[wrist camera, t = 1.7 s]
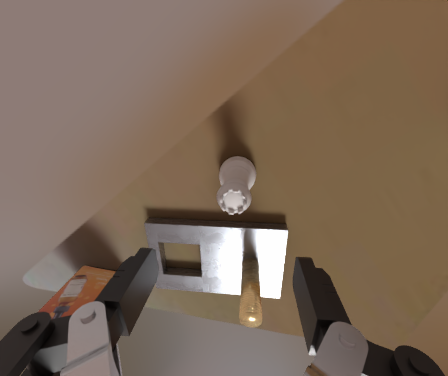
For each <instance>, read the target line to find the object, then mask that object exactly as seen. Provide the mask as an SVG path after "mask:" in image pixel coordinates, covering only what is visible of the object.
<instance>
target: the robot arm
mask: <svg viewBox="0 0 448 376" xmlns="http://www.w3.org/2000/svg"><path fill="white" fill-rule="evenodd" d="M158 274H159V267H158V261H157V255H156V250H155V249H154V248H140V249H139V251H138V252H137V254H136V255H135V256H131V257H129V258H128V259H127V260H125V261H124V262H123V263H122V264H121V265H120V267H119V268H118V269H117V271H116V272H115V274H114V275H113V277H112V278H111V279H110V280H109V282H108V283H107V284H106V286H105V287H104V288H103V290H102V291H101V292H100V294H99V295H98V296H97V298H96V299H95V300H94V301H93V302H89V303H87V304H85V305H83V306H81V307H80V308H78V309H77V310H76V311H75V312H74V313H73V315H69V316H64V317H60V318H55V319H52V318H51V316H50V314H49V313H48V312H37V313H34V314H31V315H29V316H27V317H26V318H24V319H22V320H21V321H20V322H18V323H17V324H16V325H15V326H14V327H13V328H12V329H11V330H10V332H9V333H8V334H7V335H6V336H5V337H4V338H3V339H2V340H1V341H0V376H19V375H20V374H21V373H22V371H23V370H24V369H25V368H26V367H27V368H26V370H25V371H24V372H23V374H22V375H21V376H122V371H121V364H120V357H119V351H118V345H117V342H118V340H119V338H120V336H121V335H122V336H130V333H131V332H132V329H133V327H134V325H135V323H136V321H137V319H138V317H139V315H140V313H141V311H142V309H143V307H144V305H145V303H146V301H147V299H148V297H149V295H150V293H151V291H152V289H153V287H154V285H155V283H156V281H157V278H158ZM293 290H294V294H295V298H296V303H297V307H298V311H299V315H300V320H301V324H302V328H303V332H304V337H305V341H306V345H307V349H308V354H309V355H314V356H315V357H314V360H313V361H312V363H311V365H310V366H308V367H307V369H306V371H305V372H304V375H303V376H445V375H444V374H443V372H442V371H441V369H440V368H439V366H438V365H437V364H436V363H435V362H434V361H433V360H432V359H431V358H430V357H429V356H427V355H426V354H425V353H423V352H421V351H420V350H418V349H416V348H413V347H411V346H405V345H403V346H399V347H397V348H396V349H395V351H392V350H389V349H387V348H384V347H382V346H379V345H376V344H374V343H372V342H370V341H368V340H366V339H365V337H364V336H363V335H362V333H361V332H360V331H359V330H358V329H356V328H355V327H354V326H352V324H351V323H350V320H349V318H348V316H347V314H346V311H345V309H344V307H343V305H342V303H341V300H340V298H339V296H338V294H337V292H336V289H335V287H334V286H333V283H332V281H331V278H330V276H329V275H328V274H327V273H326V272H325V271H324V270H323V269H322V268H315V265H314V263H313V260H312V258H308V257H296V260H295V267H294V274H293Z"/></svg>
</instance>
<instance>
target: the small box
mask: <svg viewBox="0 0 448 376" xmlns="http://www.w3.org/2000/svg"><path fill="white" fill-rule="evenodd" d="M115 272H116V271H111V270H105V269H100V268H94V267H90V266H85V265H84V266H82V267H81V268H80V269H79V270H78V271H77V272H76V274H75V275H74V276H73V277H72V278H71V279H70V280H69V281H68V282H67V283H66V284H65V285H64V286H63V287H62V288H61V289H60V290H59V291H58V292H57V293H56V294H55V295H54V296H53V297H52V298H51V299H50V300H49V301H48V302H47V303H46V304H45V305H44V306H43V307H42V308H41V309H40V310H39V312H48V313H49V314H50V316H51V318H52V319H55V318H60V317H64V316H69V315H73V313H74V312H75V311H76V310H77V309H78V308H80V307H81V306H83V305H85V304H87V303H89V302H93V301H94V300H95V299H96V298H97V296H98V295H99V294H100V292H101V291H102V290H103V288H104V287H105V286H106V284H107V283H108V282H109V280H110V279H111V278H112V277H113V275H114V274H115Z"/></svg>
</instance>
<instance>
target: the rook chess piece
mask: <svg viewBox="0 0 448 376" xmlns="http://www.w3.org/2000/svg"><path fill="white" fill-rule="evenodd" d="M255 178H256V170H255V167H254V165H253V164H252V162H251V161H249V160H248V159H246V158H245V157H239V156H235V157H231V158H229V159H227V160H226V161H224V163H223V164H222V166H221V167H220V173H219V179H220V183H221V185H222V186H221V187H220V189H219V190H218V192H217V201H218V204H219V205H220V207H221V209H222V210H223V211H227V212H229V213H228V214H230V215H234V213H239V214H240V213H242V212H243V211H244V210H246V209H247V208H248V207H249V205H250V204H251V199H252V197H251V192H250V191H249V190H250V188H251V187H252V186H253V184H254V183H255Z"/></svg>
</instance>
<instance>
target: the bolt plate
mask: <svg viewBox="0 0 448 376" xmlns="http://www.w3.org/2000/svg"><path fill="white" fill-rule="evenodd" d="M144 224H145V229H146V235H147V240H148V245H149V248H154V249H155V250H156V255H157V261H158V267H159V274H158V278H157V281H156V287H157V288H162V289H174V290H186V291H198V292H210V293H222V294H234V295H240V317H239V320H240V322H241V323H242V324H243V325H245V326H247V327H257V326H259V325H260V324H261V323H262V306H261V297H270V298H280V291H281V283H282V275H283V267H284V259H285V251H286V243H287V235H288V228H287V225H286V224H276V223H255V222H234V221H213V220H191V219H170V218H148V219H147V221H146V222H145V223H144ZM163 242H166V243H183V244H200V252H201V266H202V270H200V269H186V268H172V267H167V265H166V258H165V252H164V245H163Z"/></svg>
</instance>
